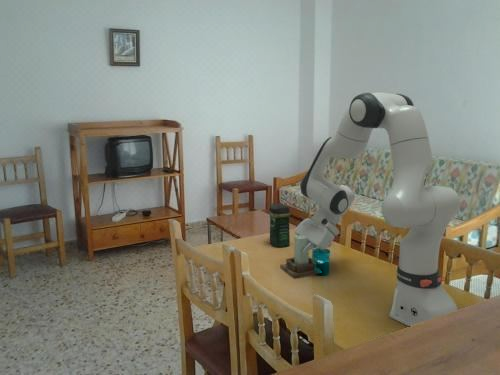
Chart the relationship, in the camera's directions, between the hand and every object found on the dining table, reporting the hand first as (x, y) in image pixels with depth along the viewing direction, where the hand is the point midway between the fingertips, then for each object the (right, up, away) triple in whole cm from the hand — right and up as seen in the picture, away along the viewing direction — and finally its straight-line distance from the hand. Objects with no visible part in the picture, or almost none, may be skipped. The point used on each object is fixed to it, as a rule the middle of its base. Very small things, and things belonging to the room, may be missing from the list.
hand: (299, 250), depth 181 cm
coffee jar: (-6, -2, +33) cm, 34 cm away
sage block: (+1, -6, +1) cm, 6 cm away
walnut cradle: (+1, -8, +2) cm, 8 cm away
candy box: (+12, -2, +31) cm, 33 cm away
